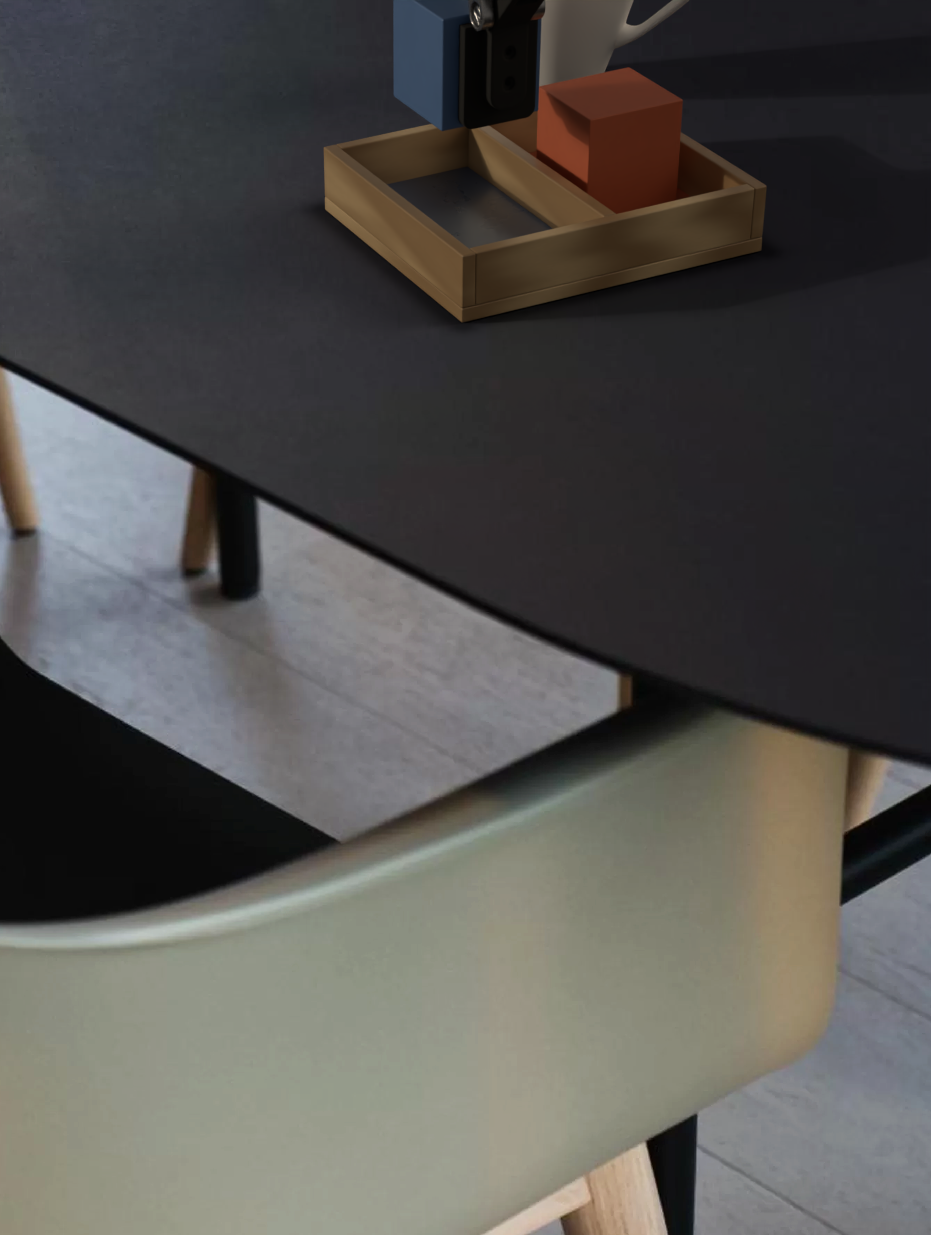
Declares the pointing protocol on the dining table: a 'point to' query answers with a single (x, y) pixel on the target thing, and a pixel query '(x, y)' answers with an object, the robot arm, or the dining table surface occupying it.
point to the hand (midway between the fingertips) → (466, 95)
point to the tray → (526, 217)
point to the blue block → (433, 58)
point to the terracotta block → (612, 137)
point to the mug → (588, 35)
